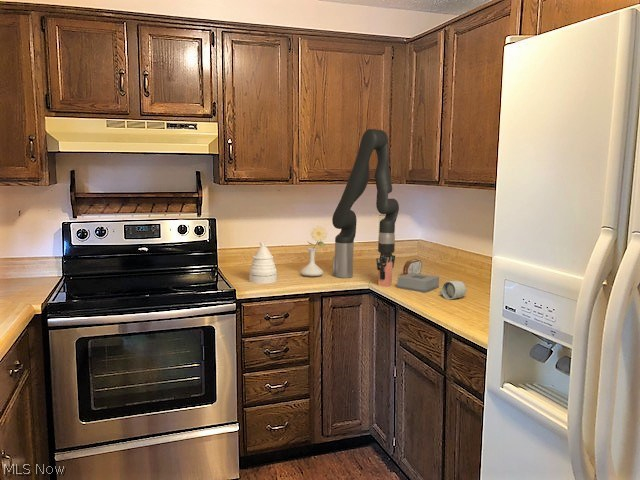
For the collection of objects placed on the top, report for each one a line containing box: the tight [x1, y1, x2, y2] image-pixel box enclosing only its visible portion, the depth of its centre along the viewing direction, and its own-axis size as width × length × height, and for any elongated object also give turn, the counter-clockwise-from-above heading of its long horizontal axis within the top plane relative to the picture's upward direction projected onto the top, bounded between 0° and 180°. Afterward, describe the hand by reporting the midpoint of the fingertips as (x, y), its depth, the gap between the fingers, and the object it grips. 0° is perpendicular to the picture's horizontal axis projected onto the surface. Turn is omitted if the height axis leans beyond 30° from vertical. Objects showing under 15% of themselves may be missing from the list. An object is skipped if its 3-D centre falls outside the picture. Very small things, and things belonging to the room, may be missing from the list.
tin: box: [402, 258, 423, 275], centre depth 271 cm, size 15×3×8 cm, turn 141°
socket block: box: [396, 273, 440, 294], centre depth 245 cm, size 14×14×5 cm
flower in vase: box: [300, 226, 328, 277], centre depth 266 cm, size 13×11×25 cm
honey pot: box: [249, 241, 278, 285], centre depth 253 cm, size 13×13×18 cm
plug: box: [377, 262, 393, 288], centre depth 248 cm, size 4×4×14 cm
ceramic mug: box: [439, 280, 467, 300], centre depth 228 cm, size 11×8×8 cm
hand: (385, 278), depth 248 cm, fingers closed on plug, 4 cm apart
